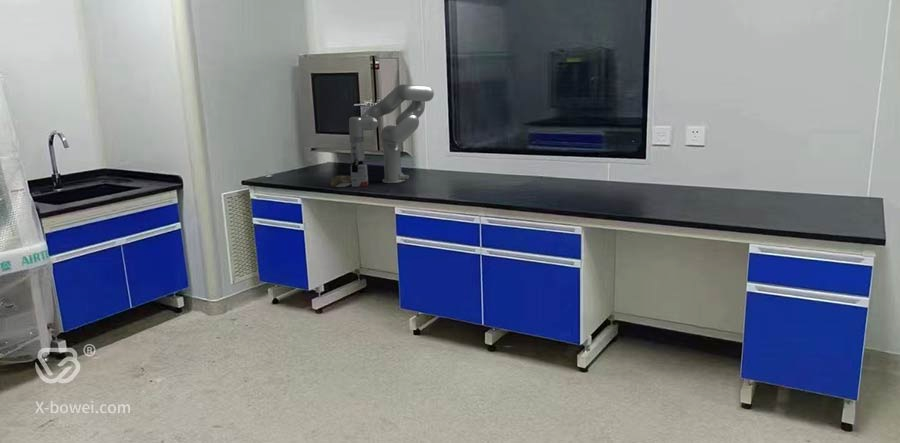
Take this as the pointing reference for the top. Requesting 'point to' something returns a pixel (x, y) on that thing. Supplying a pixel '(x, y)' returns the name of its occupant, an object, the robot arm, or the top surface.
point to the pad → (343, 184)
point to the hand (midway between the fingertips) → (357, 170)
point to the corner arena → (340, 180)
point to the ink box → (359, 176)
